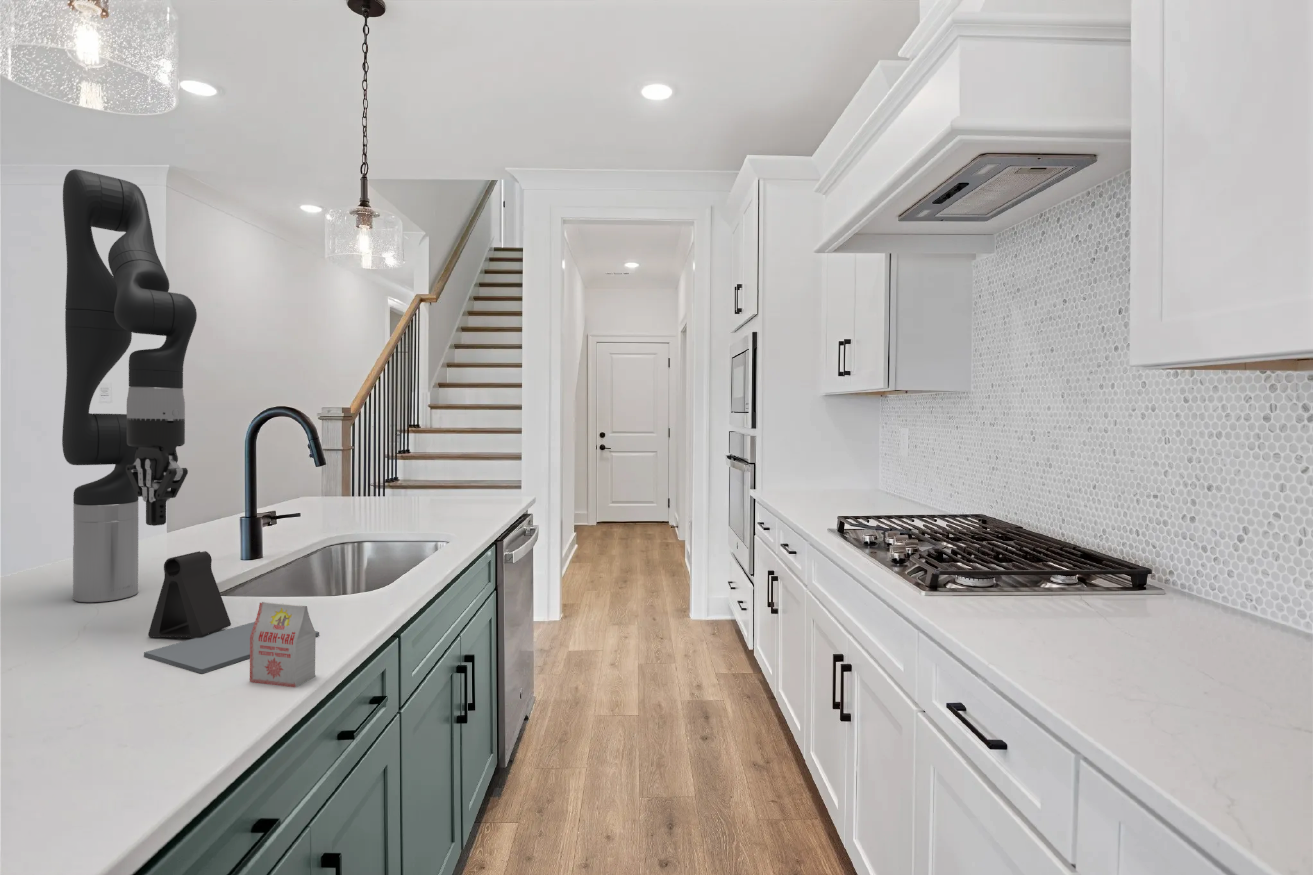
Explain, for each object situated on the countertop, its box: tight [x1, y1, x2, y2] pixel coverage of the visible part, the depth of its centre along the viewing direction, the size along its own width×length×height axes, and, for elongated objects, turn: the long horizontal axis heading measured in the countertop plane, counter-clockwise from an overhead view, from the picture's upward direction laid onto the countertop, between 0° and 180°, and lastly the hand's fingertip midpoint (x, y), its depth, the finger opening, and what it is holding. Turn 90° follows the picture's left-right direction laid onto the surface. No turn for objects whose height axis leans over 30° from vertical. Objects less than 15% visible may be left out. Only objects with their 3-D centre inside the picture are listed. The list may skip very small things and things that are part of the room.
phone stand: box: [147, 550, 232, 639], centre depth 107 cm, size 9×6×12 cm, turn 83°
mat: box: [143, 621, 320, 675], centre depth 102 cm, size 13×18×1 cm
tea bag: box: [249, 601, 317, 688], centre depth 90 cm, size 4×7×10 cm, turn 79°
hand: (156, 524), depth 110 cm, fingers closed
